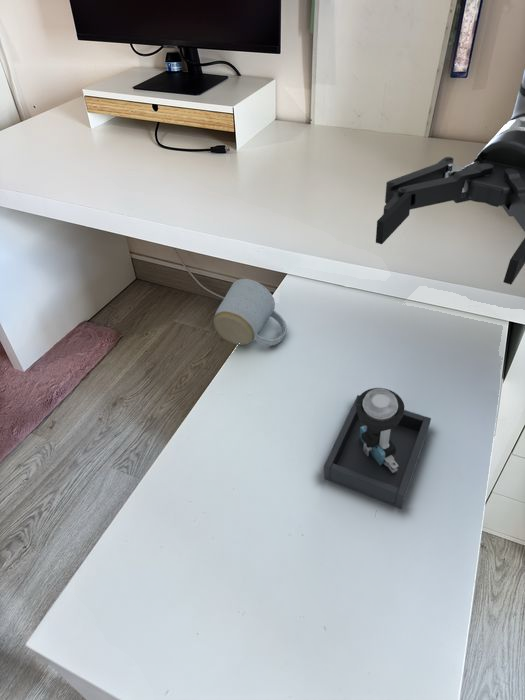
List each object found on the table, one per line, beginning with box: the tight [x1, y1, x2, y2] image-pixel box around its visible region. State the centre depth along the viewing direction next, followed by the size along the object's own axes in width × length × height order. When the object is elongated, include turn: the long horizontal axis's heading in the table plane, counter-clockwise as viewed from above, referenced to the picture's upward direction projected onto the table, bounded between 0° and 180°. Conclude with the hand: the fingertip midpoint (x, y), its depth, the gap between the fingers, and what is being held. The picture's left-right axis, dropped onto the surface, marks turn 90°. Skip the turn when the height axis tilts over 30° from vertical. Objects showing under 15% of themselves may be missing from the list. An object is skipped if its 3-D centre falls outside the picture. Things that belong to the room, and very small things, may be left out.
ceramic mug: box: [212, 278, 288, 347], centre depth 78 cm, size 11×8×8 cm
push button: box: [356, 387, 405, 473], centre depth 59 cm, size 7×5×10 cm
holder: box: [323, 394, 432, 509], centre depth 62 cm, size 10×12×3 cm
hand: (440, 251), depth 50 cm, fingers open, 13 cm apart
